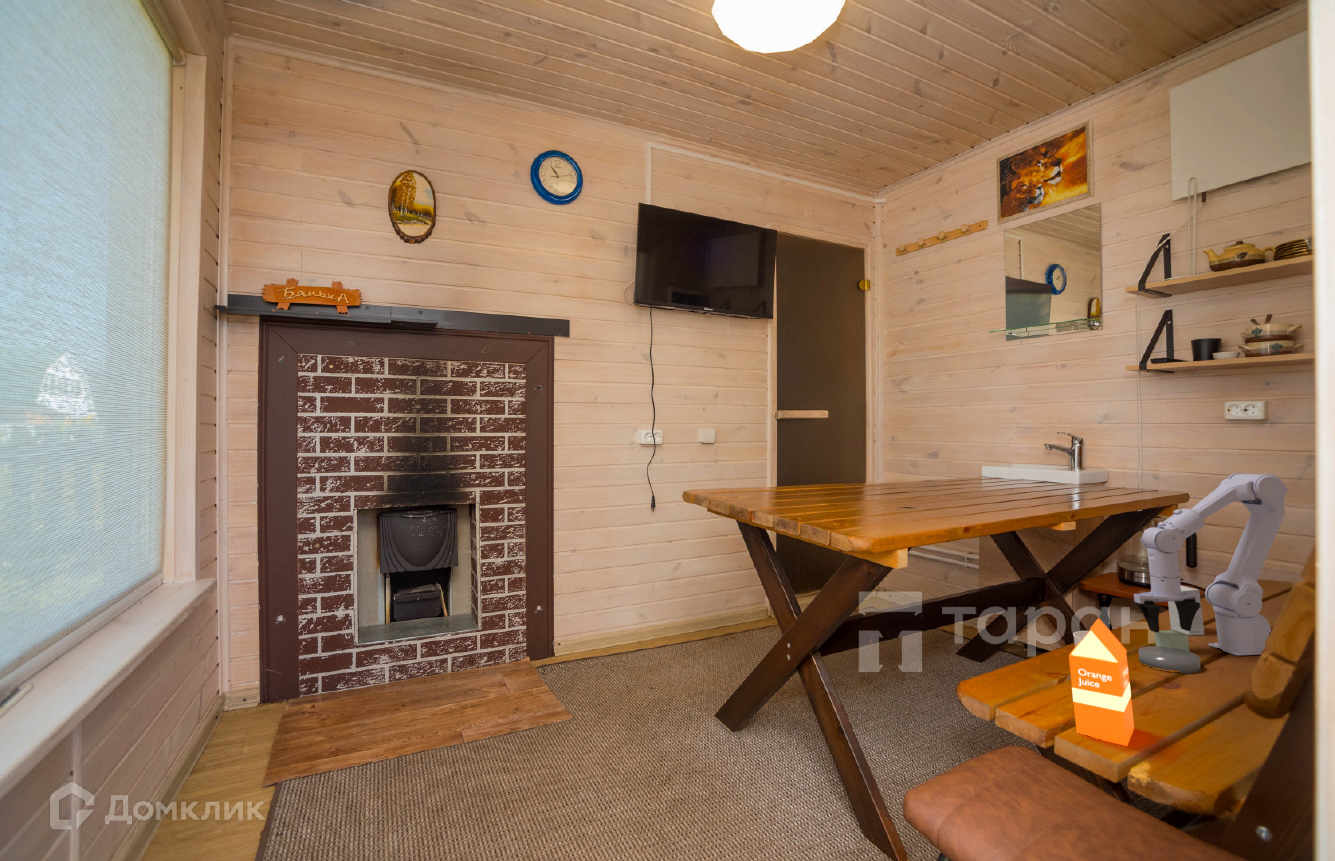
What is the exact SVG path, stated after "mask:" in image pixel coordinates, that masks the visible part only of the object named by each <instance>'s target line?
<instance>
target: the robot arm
mask: <svg viewBox="0 0 1335 861" xmlns="http://www.w3.org/2000/svg"><path fill="white" fill-rule="evenodd" d="M1288 491H1289V489H1288V487H1287V486H1286V485H1285V483H1284V482H1283V481H1282V479H1281V478H1280V477H1279V476H1277V475H1274V474H1270V473H1262V474H1260V473H1259V474H1258V473H1243V472H1235V473H1233V474H1230V475H1229V476H1228V477H1227V478H1225V479H1223V480H1221V481H1220V484H1219V486H1217V487H1216V488H1215V489H1213V491H1211V492H1209V494H1208V495H1206V496H1205V497H1204V498H1202V499H1201V500H1200V501H1199V502H1198V503H1196V504H1195V505H1194V506H1193V507H1191V508H1185V507H1184V508H1181V509H1175V510H1173V512H1172V515H1171V516H1169V517H1167V519H1165V520H1164V521H1160V522H1157V526H1156V527H1155V526H1154V527H1148V528H1147V529H1145V530H1144V532H1143V533H1142V536H1141V537H1140V539H1139V540H1140V543H1141V544H1142V546H1144V548H1145V549H1146V554H1147V560H1148V570H1149V578H1150V591H1147V592H1141V593H1133V599H1134V600H1133V601H1134V603H1135V604H1136V606H1137V608H1138V609H1139V610H1140V612H1141V613H1142V616H1144V619H1145V621H1146V624H1147V626H1148V629H1149V631H1151V632H1154V633H1155V632H1159V631H1160V620H1159V619H1160V611H1161V605H1160V606H1159V605H1156V603H1164V602H1165V603H1166V602H1167V603H1168V601H1174V602H1175V605H1176V607H1177V610H1178V614H1179V621H1180V626H1181V629H1184V630H1186V631H1191V626H1192V622H1193V619H1194V616H1195V614H1196V612H1197V611H1198V609H1199V608H1200V603H1198V602H1195V601H1201V594H1199V593H1200V592H1199V593H1197V592H1194V591H1181V587H1180V585H1181V580H1180V579H1181V578H1180V571H1179V570H1180V569H1179V568H1180V567H1179V561H1178V552H1177V551H1180V550H1181V548H1182V546H1183V542H1184V541H1185V540H1186V539H1187V538H1189V537H1191V536H1192V535H1194V533H1196V532H1197V531H1199V530H1201V529H1202V528H1203V527H1204V526H1205V519H1207V518H1208V517H1210V516H1212V515H1213V514H1215V513H1217V512H1218V511H1220V510H1222V509H1223V508H1225V507H1227V506H1229V505H1230V504H1231V503H1233V502H1239V503H1241V504H1242V505H1243V506H1244V507H1245V508H1246V509H1247V510H1248V512H1249V513H1250V515H1249V517H1248V520H1247V522H1246V525H1245V528H1243V529H1244V530H1243V531H1242V535H1241V537H1240V538H1239V541H1238V544H1237V546H1236V548H1235V551H1234V553H1233V555H1232V558H1231V560H1230V563H1229V564H1228V568H1227V570H1226V571H1224V572H1222V573H1220V574H1218V575H1216V577H1215V578H1214V580H1213V582H1212V583H1211V584H1209V585H1208V586H1207V587H1206V589H1205V592H1204V596H1205V600H1206V601H1207V602H1208V603H1209V604H1210V605H1211V606H1212V610H1214V617H1215V626H1216V636H1217V642H1213V643H1212V642H1209V643H1208V647H1209V646H1210V647H1213V648H1214V649H1217V648H1220V649H1222V650H1221V651H1222V652H1223V651H1224V652H1227V653H1229V654H1232V655H1234V656H1252V655H1253V656H1255V655H1256V656H1257V655H1262V654H1261V652H1262V651H1263V650H1264V648H1265V641H1266V640H1267V638H1268V637H1269V633H1270V632H1271V633H1272V629H1271V625H1270V623H1269V620H1268V619H1267V618H1266V617H1265V616H1264V615H1262V614H1260V611H1261V610H1262V609H1263V601H1262V596H1263V594H1264V589H1263V588H1262V586H1261V585H1260V583H1258V579H1259V577H1260V573H1261V572H1262V570H1263V568H1264V565H1265V562H1266V559H1267V557H1268V555H1269V553H1270V550H1271V548H1272V546H1273V543H1274V541H1275V538H1277V534H1278V532H1279V529H1280V527H1281V525H1282V522H1283V520H1284V518H1285V513H1286V512H1285V511H1286V510H1285V509H1286V508H1285V497H1286V495H1287V493H1288ZM1220 649H1219V650H1220Z"/></svg>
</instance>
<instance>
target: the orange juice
mask: <svg viewBox="0 0 1335 861" xmlns="http://www.w3.org/2000/svg"><path fill="white" fill-rule="evenodd" d="M1089 631H1090V632H1089V633H1087V634H1088V635H1087V634H1086V635H1087V636H1086V635H1085V636H1086V637H1085V638H1084V639H1082V640H1081V643H1078V644H1077V646H1076V647H1075V646H1074V648H1073V649H1072V651H1071V652H1070V653H1069V655H1068V660H1069V661H1068V662H1069V670H1070V679H1071V680H1070V681H1071V692H1072V702H1073V708H1074V720H1075V729H1076V734H1077V733H1080V734H1083V735H1088V736H1091V737H1094V738H1093V739H1095V738H1096V740H1099V739H1101V740H1100V741H1103V742H1108V743H1113V744H1117V745H1121V746H1125V747H1128V745H1129V742H1130V740H1131V737H1132V735H1133V732H1134V729H1135V724H1134V712H1133V703H1132V694H1131V693H1132V692H1131V684H1130V676H1129V675H1130V674H1129V666H1128V659H1127V658H1128V657H1127V655H1128V654H1127V652H1128V650H1127V649H1126V648H1125V647H1124V646H1123V644H1122V643H1121V642H1120V641H1119V640H1118V639H1117V637H1116V636H1115V635H1114V634H1113V633H1112V632H1111V630H1110V629H1109V628H1108V627H1107V626H1106V625H1105V623H1104V622H1103V621H1102V620H1101V619H1100V618H1099V617H1098V618H1097V619H1096V621H1095V622H1094V623H1093V624H1092V625H1091V626H1090V628H1089ZM1115 637H1116V638H1115ZM1083 735H1082V736H1083ZM1091 737H1090V738H1091Z"/></svg>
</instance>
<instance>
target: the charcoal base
mask: <svg viewBox="0 0 1335 861" xmlns="http://www.w3.org/2000/svg"><path fill="white" fill-rule="evenodd" d="M1138 659H1139V660H1140V661H1139V663H1140V662H1141V663H1143V664H1146V665H1148V666H1151V667H1155V668H1160V669H1165V670H1175V671H1180V672H1182V673H1181V674H1195V673H1198V672H1200V671H1201V670H1202V668H1201V658H1200V656H1199V655H1198V654H1196V653H1193V652H1191V651H1190V650H1189V651H1185V650H1181V649H1176V648H1170V647H1159V646H1156V645H1155V646H1143V647H1140V648H1138ZM1141 663H1140V664H1141ZM1143 664H1142V665H1143Z"/></svg>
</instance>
